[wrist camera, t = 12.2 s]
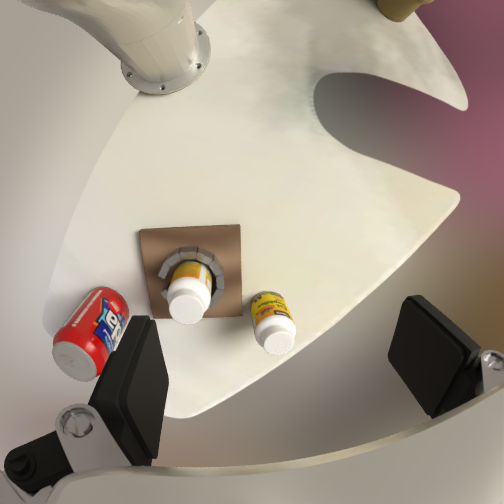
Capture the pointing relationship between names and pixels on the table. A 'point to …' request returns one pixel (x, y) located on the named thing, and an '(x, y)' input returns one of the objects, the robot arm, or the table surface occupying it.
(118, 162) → the table surface
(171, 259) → the steel ring
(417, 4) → the cork
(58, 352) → the soda can
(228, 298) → the base plate
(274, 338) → the supplement bottle
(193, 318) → the supplement bottle
